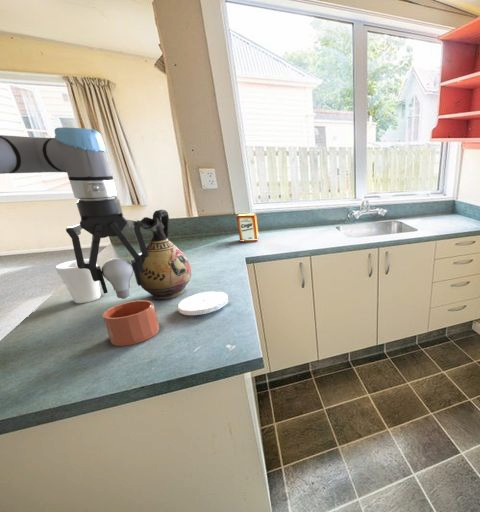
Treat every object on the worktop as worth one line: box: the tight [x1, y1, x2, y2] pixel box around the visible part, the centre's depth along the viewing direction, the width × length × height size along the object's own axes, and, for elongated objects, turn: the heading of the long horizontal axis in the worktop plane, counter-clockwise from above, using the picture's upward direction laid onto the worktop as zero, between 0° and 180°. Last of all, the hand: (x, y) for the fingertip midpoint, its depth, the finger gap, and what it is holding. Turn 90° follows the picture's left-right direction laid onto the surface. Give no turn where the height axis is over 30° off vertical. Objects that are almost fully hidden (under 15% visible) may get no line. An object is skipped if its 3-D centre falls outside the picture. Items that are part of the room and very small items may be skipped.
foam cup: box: [55, 258, 101, 304], centre depth 100 cm, size 10×9×13 cm
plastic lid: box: [177, 291, 229, 316], centre depth 97 cm, size 14×14×2 cm
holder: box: [102, 299, 160, 347], centre depth 80 cm, size 10×10×8 cm
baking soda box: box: [236, 213, 260, 243], centre depth 175 cm, size 10×6×16 cm
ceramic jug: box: [139, 209, 193, 301], centre depth 102 cm, size 17×15×30 cm
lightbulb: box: [101, 257, 134, 300], centre depth 76 cm, size 6×6×11 cm
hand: (122, 287), depth 77 cm, fingers closed on lightbulb, 6 cm apart
